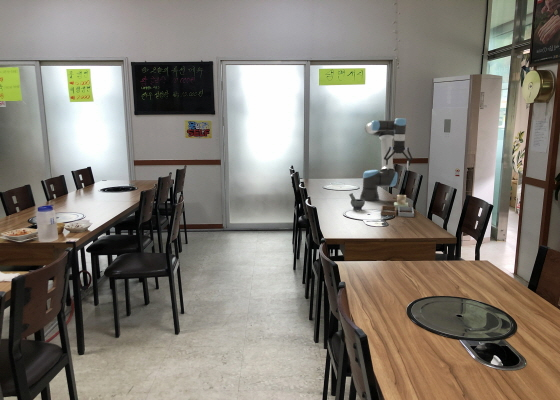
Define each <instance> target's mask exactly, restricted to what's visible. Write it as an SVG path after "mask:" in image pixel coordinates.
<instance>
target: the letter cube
mask: <svg viewBox="0 0 560 400" xmlns="http://www.w3.org/2000/svg"><path fill="white" fill-rule="evenodd" d="M396 196H397V197H396V202H397V204H399V205H406V203H407V202H406V201H407V195H406V194H397V195H396Z"/></svg>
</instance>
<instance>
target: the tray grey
mask: <svg viewBox="0 0 560 400" xmlns="http://www.w3.org/2000/svg"><path fill="white" fill-rule="evenodd" d="M400 211H402V212H400ZM403 211H405V212H403ZM408 211H409V212H408ZM397 213H398V217H407V218H414V217H415V212H414V207H413V206H408V207H398V210H397Z"/></svg>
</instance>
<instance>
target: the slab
mask: <svg viewBox="0 0 560 400" xmlns="http://www.w3.org/2000/svg"><path fill="white" fill-rule="evenodd" d="M393 206H396V211H398V207H410V206H409V202H406V205H399V204H397V201H395V202H393Z"/></svg>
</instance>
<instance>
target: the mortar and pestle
mask: <svg viewBox="0 0 560 400" xmlns="http://www.w3.org/2000/svg"><path fill="white" fill-rule="evenodd" d="M349 197H350V199H351V200H350V205H351V207H353V209H352V210H353V211H356V210H361V211H362V210H363V207H364V206H365V203H366V200H361V199H360V198H355V195H354V193H353V192H351V193H349Z"/></svg>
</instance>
